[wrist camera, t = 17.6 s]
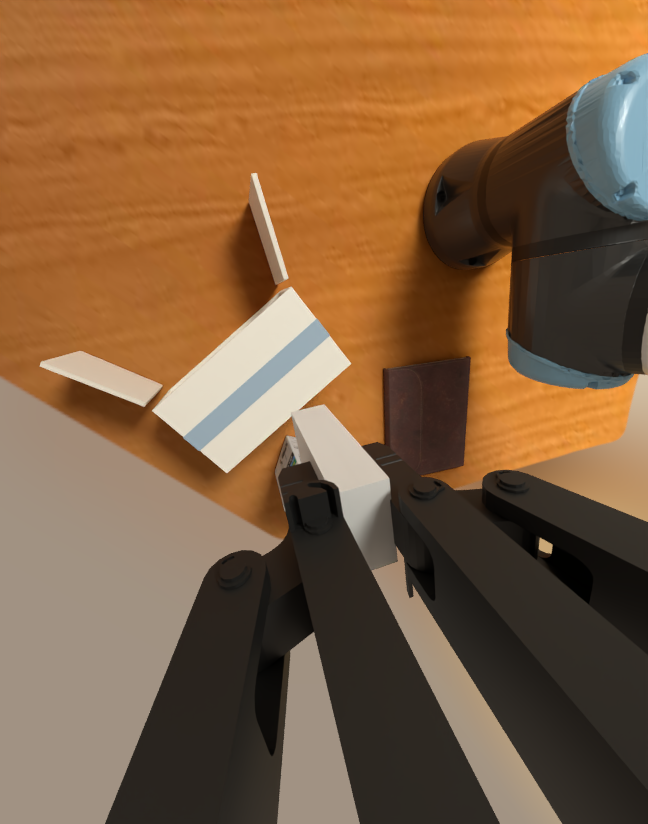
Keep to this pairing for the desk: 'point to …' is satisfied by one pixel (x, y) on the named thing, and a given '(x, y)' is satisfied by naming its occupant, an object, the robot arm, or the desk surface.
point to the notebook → (427, 413)
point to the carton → (253, 381)
